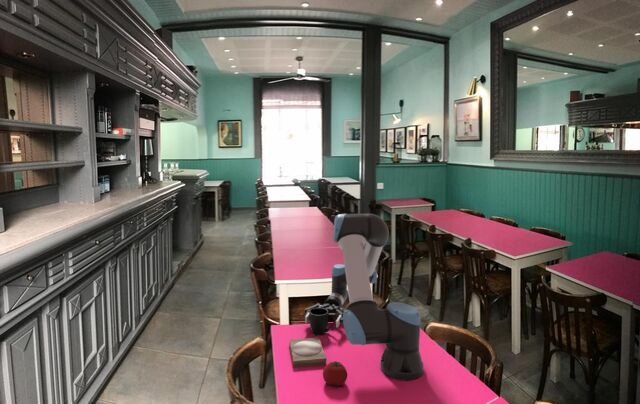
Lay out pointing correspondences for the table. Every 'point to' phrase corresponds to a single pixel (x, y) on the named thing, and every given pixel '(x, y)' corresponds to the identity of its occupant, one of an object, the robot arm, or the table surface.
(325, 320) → the mug
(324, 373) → the tomato
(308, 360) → the wooden coaster block
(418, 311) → the robot arm
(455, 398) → the table surface
